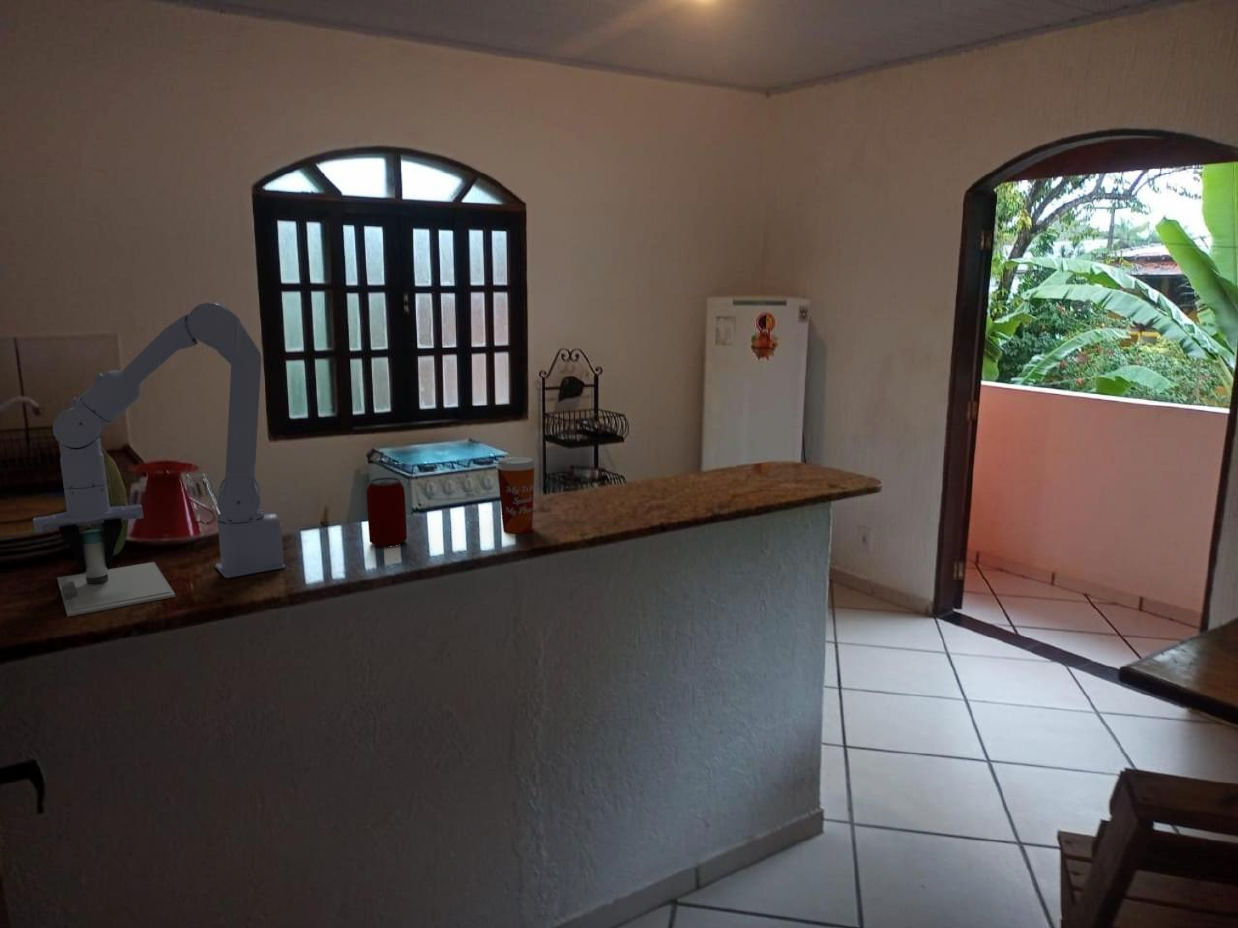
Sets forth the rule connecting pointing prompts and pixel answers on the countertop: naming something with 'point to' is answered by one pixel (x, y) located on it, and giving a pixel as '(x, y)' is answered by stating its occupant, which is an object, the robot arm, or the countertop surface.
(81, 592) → the clipboard
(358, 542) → the countertop surface
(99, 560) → the white cylinder
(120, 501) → the vegetable
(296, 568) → the countertop surface
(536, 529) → the countertop surface
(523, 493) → the paper cup
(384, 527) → the beverage can
